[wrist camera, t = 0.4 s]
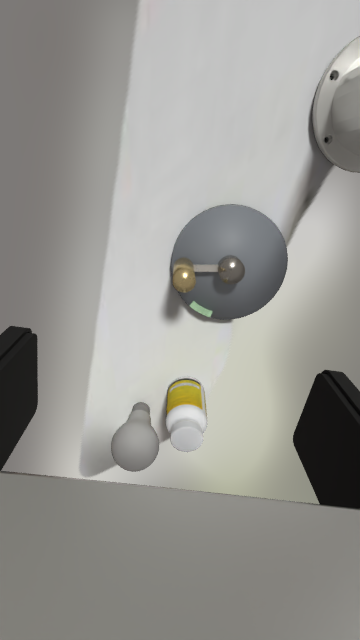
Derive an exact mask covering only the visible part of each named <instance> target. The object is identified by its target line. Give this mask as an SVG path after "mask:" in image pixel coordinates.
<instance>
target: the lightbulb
mask: <svg viewBox="0 0 360 640" xmlns="http://www.w3.org/2000/svg"><path fill="white" fill-rule="evenodd" d="M111 451H112V456H113V458H114V460H115V461H116V463H117V464H118V465H119V466H120V467H121V468H123V469H125V470H127V471H140V470H143V469H145V468H147V467H148V466H150V465H151V464H152V463H153V461H154V460H155V458H156V456H157V454H158V451H159V440H158V436H157V434H156V432H155V430H154V429H153V427H152V426H151V418H150V408H149V406H148V405H147V404H145V403H142V402H140V403H137V404H135V405H134V407H133V409H132V413H131V414H130V415H129V418H128V421H127V422H126V423H125V424H123V425H122V426H121V427H120V428H119V429H118V430H117V431H116V433H115V434H114V436H113V439H112V443H111Z"/></svg>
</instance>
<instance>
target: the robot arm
mask: <svg viewBox="0 0 360 640" xmlns="http://www.w3.org/2000/svg"><path fill="white" fill-rule="evenodd" d="M330 75H332V76H333V79H332V80H331V79H330ZM313 129H314V134H315V138H316V141H317V143H318V146H319V148H320V149H321V151H322V152H323V154H324V155H325V157H326V158H327V159H328V160H329V161H331V162H332V163H333V164H334V165H336V166H338V167H339V168H341V169H343V170H347V171H350V172H358V173H360V36H359V37H357V38H356V39H354V40H353V41H351V42H350V43H349V44H348V45H347V46H345V47H344V48H343V49H342V50H341V51H340V52H339V53H338V54H337V56H336V57H335V58H334V59H333V60H332V62H331V63H330V65H329V66H328V68H327V69H326V71H325V73H324V75H323V77H322V79H321V81H320V83H319V86H318V89H317V92H316V95H315V99H314V105H313ZM325 138H327V142H326V143H325V142H324V139H325ZM37 387H38V383H37V335H36V334H32V331H31V329H30V328H22V327H15V326H10V327H9V328H7V329H6V330H5V331H4V332H3V333H2V334H1V335H0V640H360V391H359V390H358V389H357V388H356V387H355V385H353V383H352V382H351V381H350V380H349V379H348V377H347V376H346V375H345V374H344V373H343V372H337V371H330V370H324V371H323V372H322V373H319V374H317V376H316V378H315V381H314V383H313V386H312V388H311V391H310V393H309V396H308V398H307V401H306V404H305V406H304V409H303V412H302V414H301V416H300V419H299V422H298V425H297V427H296V429H295V432H294V435H293V443H294V446H295V448H296V451H297V453H298V455H299V458H300V460H301V462H302V464H303V467H304V469H305V471H306V473H307V476H308V478H309V480H310V483H311V485H312V487H313V489H314V492H315V494H316V496H317V498H318V501H319V503H320V504H310V503H302V502H293V501H284V500H275V499H266V498H257V497H247V496H239V495H229V494H220V493H211V492H202V491H192V490H183V489H173V488H164V487H154V486H145V485H135V484H126V483H115V482H106V481H96V480H85V479H76V478H67V477H55V476H46V475H36V474H27V473H17V472H6V471H1V470H2V468H3V466H4V465H5V463H6V461H7V460H8V458H9V456H10V455H11V453H12V451H13V449H14V448H15V446H16V444H17V443H18V441H19V439H20V438H21V436H22V434H23V432H24V430H25V429H26V428H27V426H28V424H29V422H30V421H31V419H32V417H33V416H34V414H35V412H36V409H37V403H38V395H37V394H38V388H37Z"/></svg>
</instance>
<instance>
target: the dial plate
mask: <svg viewBox="0 0 360 640" xmlns="http://www.w3.org/2000/svg"><path fill="white" fill-rule="evenodd" d="M228 255H233V256H236V257H238V258H239V259H240V260H241V262H242V263H243V265H244V267H245V275H244V277H243V279H242V280H241V281H240V282H238V283H236V284H226V283H224V282H223V281H222V280H221V279H220V276H219V274H218V272H195V279H196V284H195V286H194V288H193V289H192V290H191V291H189V292H185V293H183V292H179V291H178V293H179V294H180V296H181V298H182V299H183V300H184V301H185V302H186V303H187V304H188V305H189V306H190V307H191V308H192V309H194V310H195V311H197V312H199V313H200V314H202V315H205V316H207V317H211V318H216V319H236V318H241V317H244V316H247V315H250V314H252V313H254V312H256V311H258V310H259V309H261V308H262V307H264V305H266V304H267V303H268V302H269V301H270V300H271V299H272V298H273V297H274V296H275V294H276V293H277V291H278V290H279V288H280V286H281V285H282V282H283V280H284V277H285V274H286V270H287V261H288V257H287V248H286V244H285V241H284V238H283V236H282V234H281V232H280V231H279V229H278V228H277V226H276V225H275V224H274V223H273V222H272V221H271V220H270V219H269V218H268V217H267V216H265V215H264V214H262V213H261V212H259V211H257V210H255V209H252V208H250V207H246V206H243V205H235V204H230V205H220V206H216V207H213V208H210V209H208V210H205V211H203V212H202V213H200V214H198V215H197V216H196V217H194V218H193V219H192V220H191V221H190V222H189V223H188V224H187V225H186V226H185V227H184V228H183V230H182V231H181V233H180V234H179V236H178V238H177V240H176V243H175V245H174V249H173V253H172V261H171V271H172V278H173V268H174V263H175V262H176V260H178V259H179V258H183V257H185V258H188V259H190V260H191V261H192V263H193V264H218V263H219V261H220V260H221V259H222V258H223V257H225V256H228Z"/></svg>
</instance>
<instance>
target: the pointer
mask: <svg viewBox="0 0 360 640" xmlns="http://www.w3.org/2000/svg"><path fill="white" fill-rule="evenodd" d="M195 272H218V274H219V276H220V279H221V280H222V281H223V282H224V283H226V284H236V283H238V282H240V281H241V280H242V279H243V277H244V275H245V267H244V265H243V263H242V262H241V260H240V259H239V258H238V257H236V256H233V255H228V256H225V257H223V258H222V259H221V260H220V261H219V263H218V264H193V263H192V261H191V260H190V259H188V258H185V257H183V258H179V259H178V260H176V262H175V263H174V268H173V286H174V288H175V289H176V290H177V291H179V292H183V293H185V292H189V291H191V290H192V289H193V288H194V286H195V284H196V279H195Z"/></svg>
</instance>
